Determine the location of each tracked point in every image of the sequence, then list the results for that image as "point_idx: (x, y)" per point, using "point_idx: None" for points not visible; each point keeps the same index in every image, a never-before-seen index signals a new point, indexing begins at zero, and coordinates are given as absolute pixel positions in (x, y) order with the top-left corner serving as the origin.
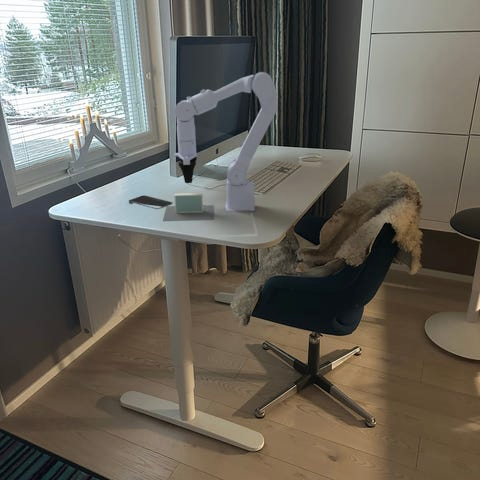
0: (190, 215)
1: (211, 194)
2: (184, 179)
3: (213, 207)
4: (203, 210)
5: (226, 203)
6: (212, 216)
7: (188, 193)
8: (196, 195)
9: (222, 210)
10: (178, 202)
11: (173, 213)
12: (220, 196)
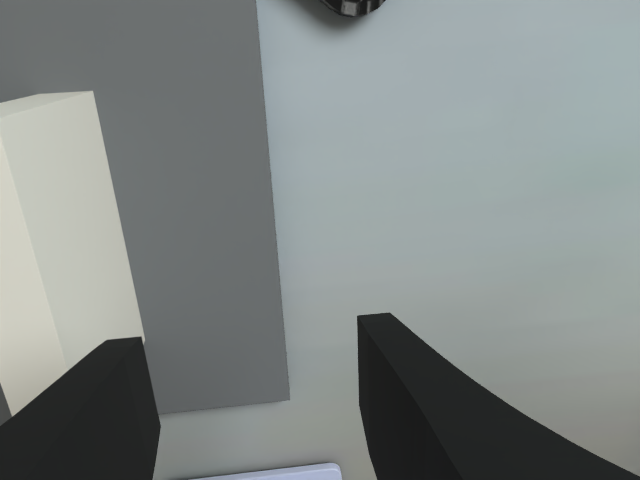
0: None
1: (603, 342)
2: (65, 376)
3: (227, 404)
4: (145, 341)
5: (324, 476)
6: (2, 421)
7: (49, 316)
8: (15, 407)
9: (204, 452)
10: None
11: (14, 73)
12: (537, 408)
